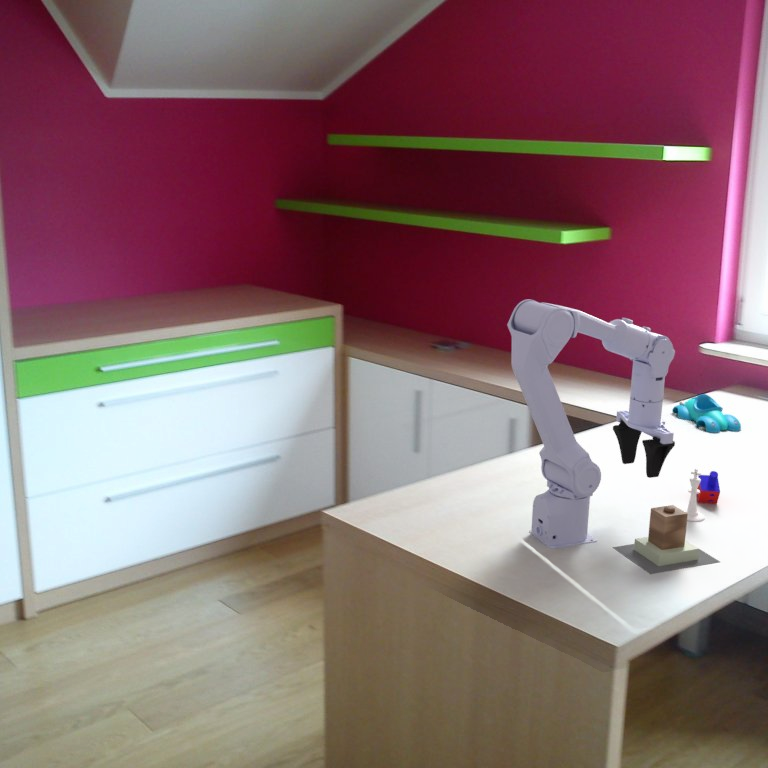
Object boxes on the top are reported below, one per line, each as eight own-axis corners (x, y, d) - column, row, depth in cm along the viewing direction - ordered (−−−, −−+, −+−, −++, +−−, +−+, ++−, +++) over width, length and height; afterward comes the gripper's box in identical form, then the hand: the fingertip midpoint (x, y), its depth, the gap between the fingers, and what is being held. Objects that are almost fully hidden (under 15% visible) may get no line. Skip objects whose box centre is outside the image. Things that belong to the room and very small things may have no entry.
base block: (658, 566, 164) (659, 555, 164) (633, 549, 171) (634, 538, 170) (698, 559, 167) (699, 548, 167) (672, 543, 173) (673, 532, 173)
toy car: (705, 411, 257) (707, 386, 255) (746, 432, 240) (749, 405, 238) (667, 414, 254) (670, 389, 252) (707, 435, 237) (709, 408, 235)
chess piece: (683, 512, 189) (688, 462, 186) (709, 518, 186) (714, 468, 183) (673, 519, 185) (678, 469, 183) (698, 526, 182) (704, 475, 180)
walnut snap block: (662, 550, 166) (665, 514, 164) (647, 540, 169) (651, 505, 168) (684, 546, 167) (688, 510, 166) (669, 537, 171) (673, 502, 169)
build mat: (650, 576, 162) (650, 573, 161) (612, 549, 172) (612, 547, 171) (720, 564, 166) (720, 561, 166) (679, 539, 176) (679, 536, 176)
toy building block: (696, 508, 195) (703, 480, 190) (694, 492, 198) (701, 464, 193) (715, 509, 195) (722, 482, 189) (712, 493, 198) (720, 465, 192)
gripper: (690, 407, 172) (683, 480, 176) (641, 386, 185) (635, 455, 189) (656, 410, 170) (649, 485, 173) (609, 389, 183) (603, 458, 186)
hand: (640, 469), depth 181 cm, fingers open, 7 cm apart
